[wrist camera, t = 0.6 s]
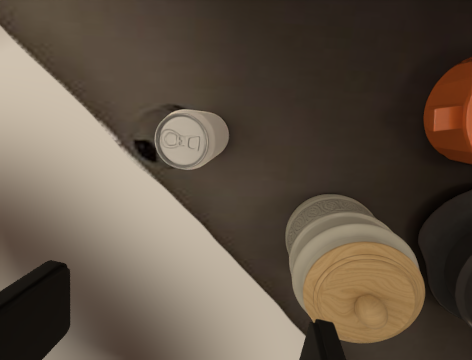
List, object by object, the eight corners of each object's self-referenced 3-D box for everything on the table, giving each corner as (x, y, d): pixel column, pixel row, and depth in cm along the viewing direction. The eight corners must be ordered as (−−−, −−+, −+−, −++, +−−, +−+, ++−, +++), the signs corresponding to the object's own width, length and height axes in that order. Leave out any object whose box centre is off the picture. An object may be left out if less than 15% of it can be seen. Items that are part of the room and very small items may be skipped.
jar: (268, 244, 40) (270, 337, 23) (315, 175, 36) (357, 224, 19) (339, 284, 40) (393, 407, 23) (392, 219, 37) (501, 306, 20)
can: (188, 108, 36) (152, 103, 25) (232, 115, 36) (216, 113, 24) (184, 152, 38) (148, 167, 26) (226, 160, 37) (208, 178, 26)
